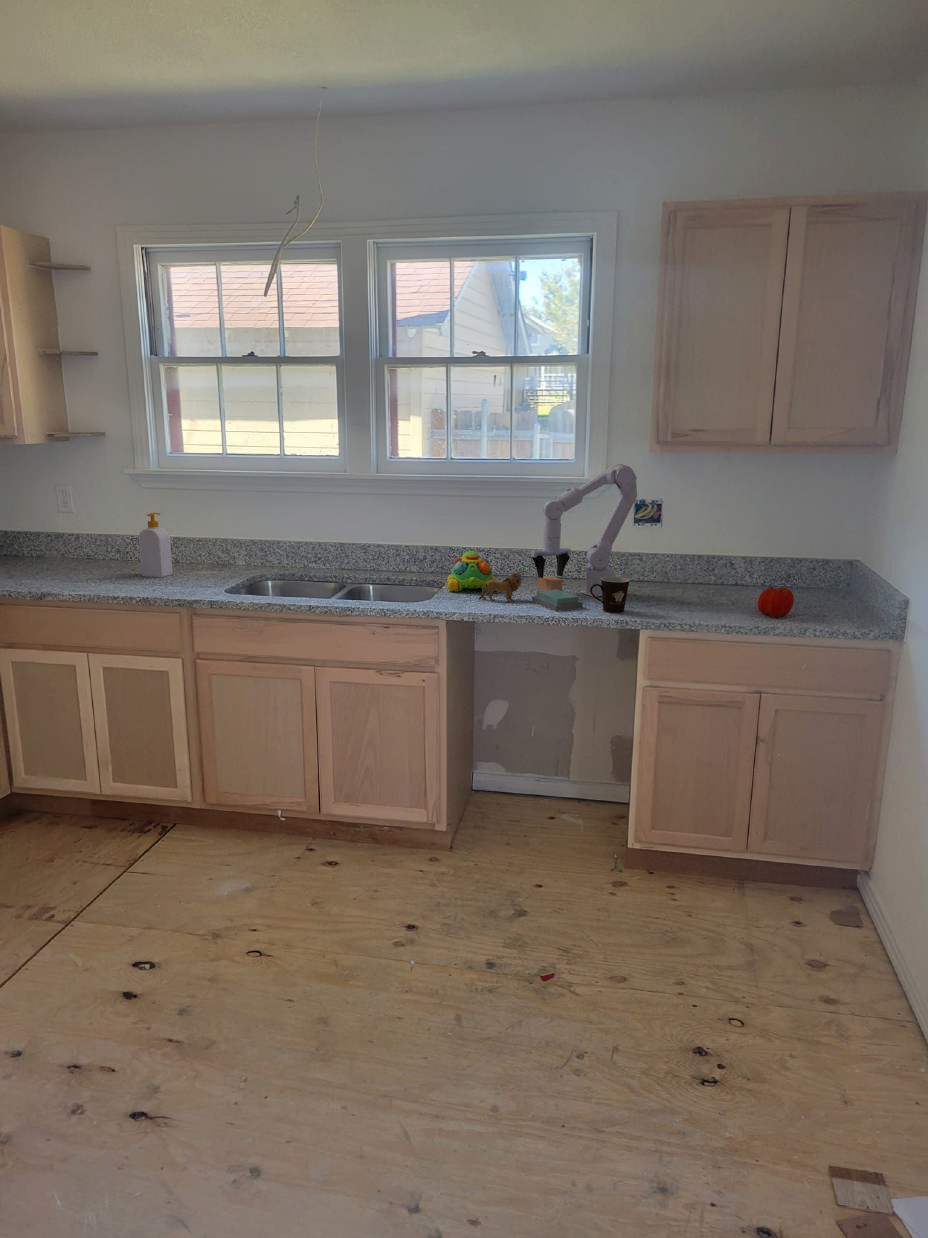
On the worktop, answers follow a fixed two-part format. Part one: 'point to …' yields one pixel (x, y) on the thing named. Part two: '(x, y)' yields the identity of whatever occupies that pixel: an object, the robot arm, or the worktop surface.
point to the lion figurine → (502, 586)
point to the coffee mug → (613, 593)
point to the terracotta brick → (549, 583)
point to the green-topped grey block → (557, 600)
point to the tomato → (775, 601)
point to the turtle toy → (469, 572)
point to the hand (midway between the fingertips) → (550, 576)
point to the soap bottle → (155, 550)
